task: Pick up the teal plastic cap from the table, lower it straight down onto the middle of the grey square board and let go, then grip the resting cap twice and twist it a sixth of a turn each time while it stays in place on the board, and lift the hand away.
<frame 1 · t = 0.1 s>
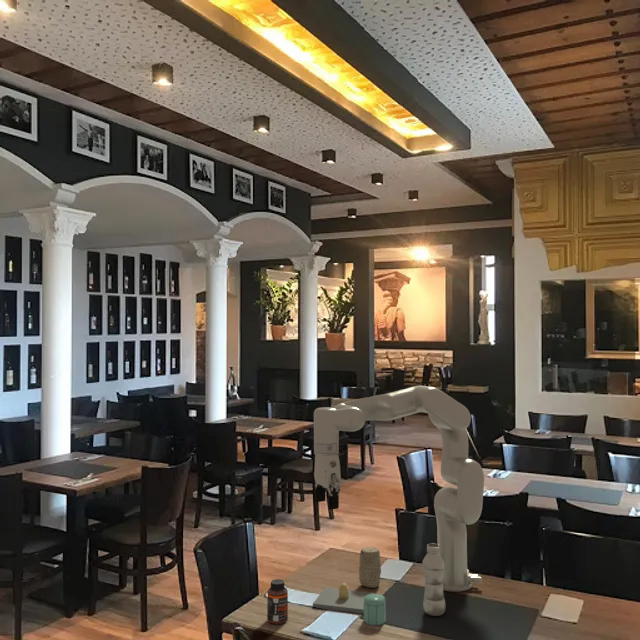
hand: (326, 505, 194), 31 cm above the table, tool pointing down, fingers open, 9 cm apart
cap: (374, 620, 184), on the table
supplement bottle: (277, 621, 185), on the table
plastic bottle: (434, 614, 188), on the table
grey square board: (343, 601, 197), on the table
carving: (370, 586, 210), on the table
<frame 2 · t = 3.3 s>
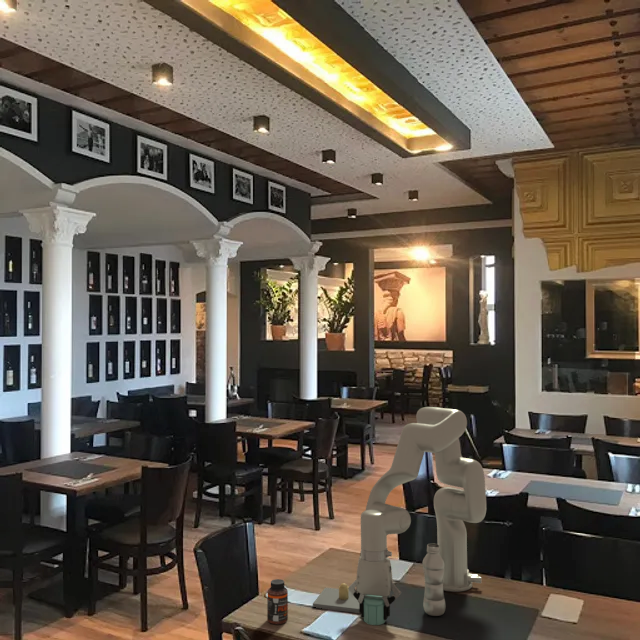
hand: (374, 616, 184), 1 cm above the table, tool pointing down, fingers closed on cap, 6 cm apart
cap: (374, 620, 184), on the table, touching gripper
everything else where it was.
when the fingers open (4 cm above the table, at t = 8.8 s): cap drops 1 cm, resting on grey square board.
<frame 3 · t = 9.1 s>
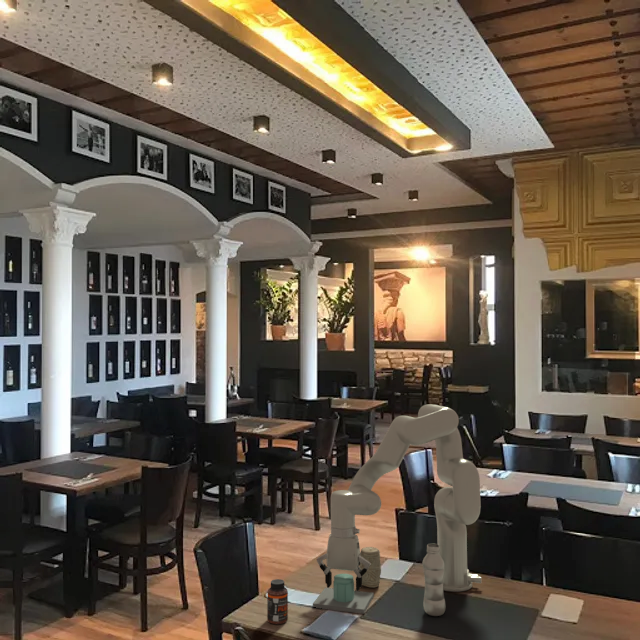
hand: (343, 587, 198), 4 cm above the table, tool pointing down, fingers open, 9 cm apart
cap: (343, 598, 197), point 1 cm above the table, touching grey square board
everything else where it was.
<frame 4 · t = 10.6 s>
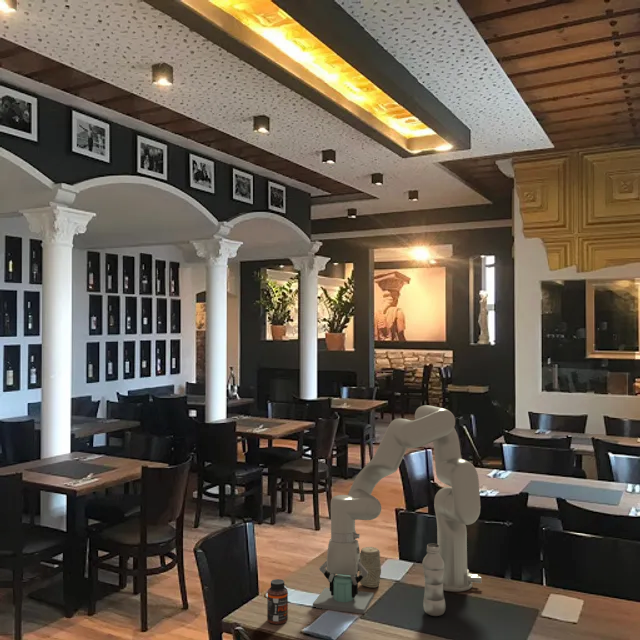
hand: (343, 594, 197), 2 cm above the table, tool pointing down, fingers closed on cap, 6 cm apart
cap: (343, 598, 197), point 1 cm above the table, touching gripper, grey square board
everything else where it was.
when the fingers open (3 cm above the table, at t = 14.7 s): cap stays where it is, resting on grey square board.
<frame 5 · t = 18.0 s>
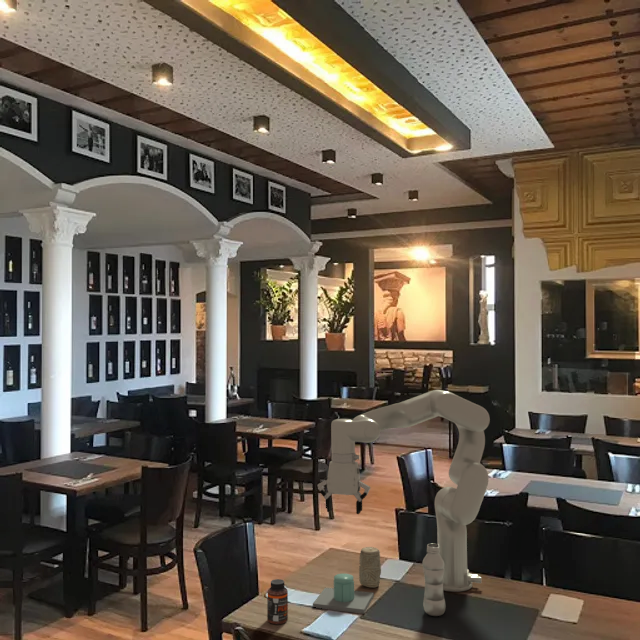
hand: (343, 511, 203), 26 cm above the table, tool pointing down, fingers open, 9 cm apart
cap: (344, 597, 197), point 1 cm above the table, touching grey square board
everything else where it was.
at the end: cap 0.1 cm off-centre on the grey square board, point 1.2 cm above the grey square board's base; cap tilted 0°; the gripper is holding nothing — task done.
